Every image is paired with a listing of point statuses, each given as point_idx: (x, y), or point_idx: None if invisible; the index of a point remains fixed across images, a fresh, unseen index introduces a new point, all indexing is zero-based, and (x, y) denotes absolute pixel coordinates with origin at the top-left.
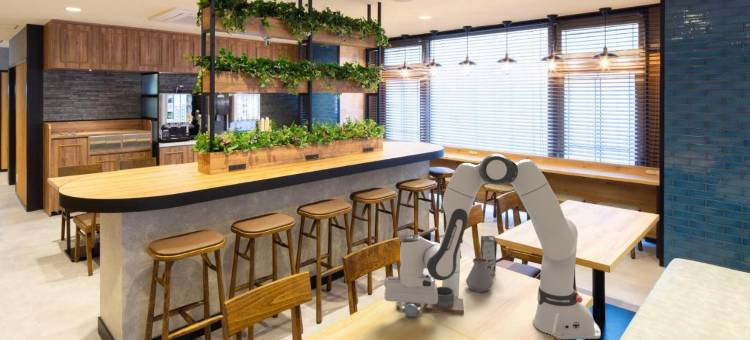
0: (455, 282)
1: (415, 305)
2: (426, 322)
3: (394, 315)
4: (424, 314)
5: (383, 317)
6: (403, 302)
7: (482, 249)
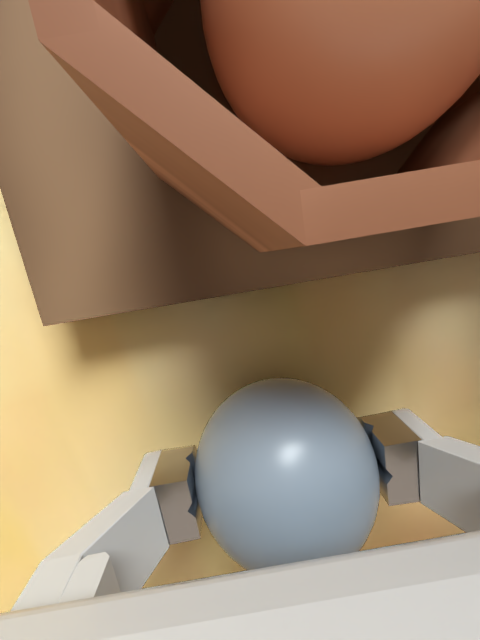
0: None
1: (363, 478)
2: None
3: (101, 451)
4: (401, 334)
5: (14, 519)
6: (98, 201)
7: None
